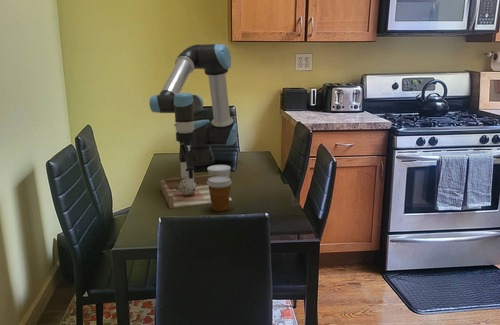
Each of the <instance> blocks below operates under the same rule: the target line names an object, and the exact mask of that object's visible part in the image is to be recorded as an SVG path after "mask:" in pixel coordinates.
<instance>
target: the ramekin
mask: <svg viewBox="0 0 500 325" xmlns="http://www.w3.org/2000/svg"><path fill="white" fill-rule="evenodd" d="M206 169H207V173H208V175H212V174H217V176H226V177H229V178H230V173H231V169H232V168H231V166H230V165H227V164H214V165H213V164H212V165H210V166H208V167H207V168H206Z"/></svg>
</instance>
